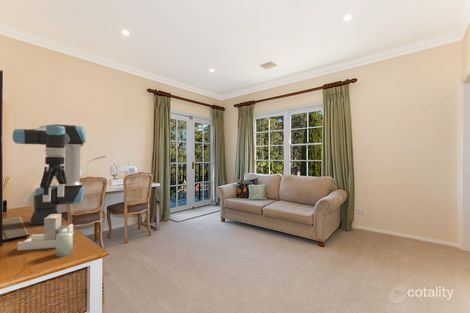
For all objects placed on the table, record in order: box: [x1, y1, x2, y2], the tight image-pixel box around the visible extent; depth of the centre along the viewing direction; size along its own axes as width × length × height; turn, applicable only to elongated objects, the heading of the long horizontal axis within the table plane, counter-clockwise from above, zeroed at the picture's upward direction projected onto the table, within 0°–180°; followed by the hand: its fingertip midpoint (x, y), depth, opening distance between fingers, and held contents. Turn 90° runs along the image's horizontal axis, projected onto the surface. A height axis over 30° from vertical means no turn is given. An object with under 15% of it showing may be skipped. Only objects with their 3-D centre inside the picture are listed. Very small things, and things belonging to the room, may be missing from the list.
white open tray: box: [16, 223, 74, 251], centre depth 111 cm, size 11×18×8 cm, turn 105°
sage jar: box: [55, 231, 74, 258], centre depth 101 cm, size 6×6×9 cm
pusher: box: [55, 224, 75, 240], centre depth 114 cm, size 8×6×7 cm
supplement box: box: [43, 213, 62, 240], centre depth 112 cm, size 8×5×13 cm, turn 22°
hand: (54, 199), depth 112 cm, fingers open, 13 cm apart
